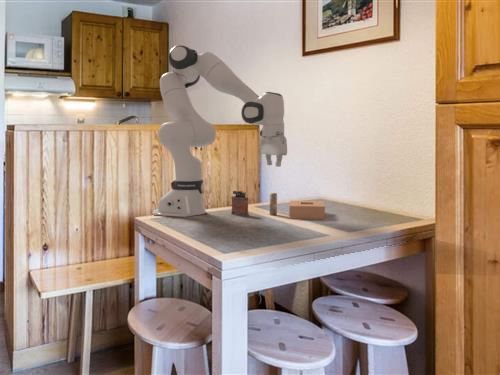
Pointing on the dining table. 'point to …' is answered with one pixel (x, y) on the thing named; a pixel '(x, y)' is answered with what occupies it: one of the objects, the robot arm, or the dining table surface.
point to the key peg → (273, 203)
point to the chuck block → (307, 209)
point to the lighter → (239, 203)
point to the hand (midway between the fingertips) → (273, 165)
